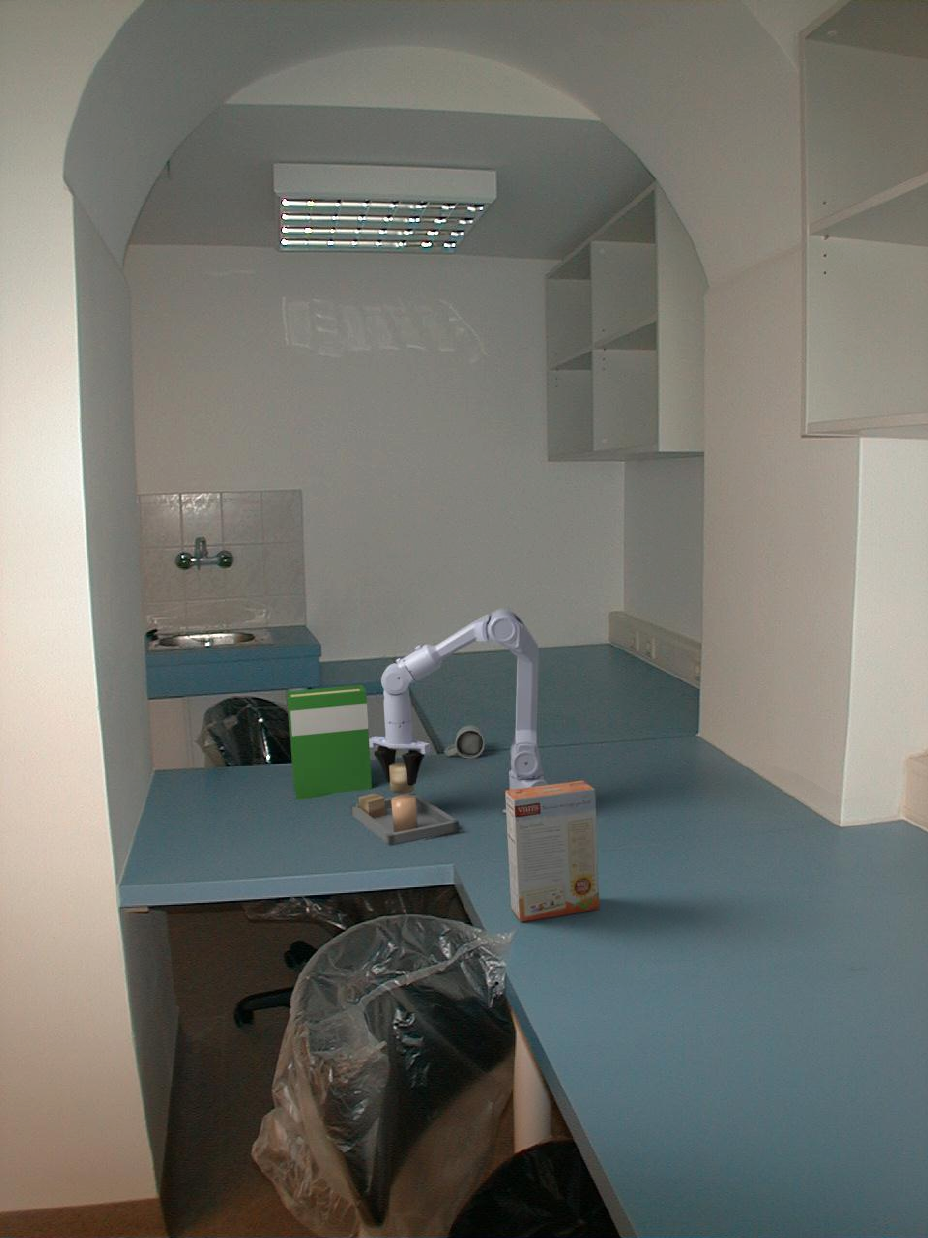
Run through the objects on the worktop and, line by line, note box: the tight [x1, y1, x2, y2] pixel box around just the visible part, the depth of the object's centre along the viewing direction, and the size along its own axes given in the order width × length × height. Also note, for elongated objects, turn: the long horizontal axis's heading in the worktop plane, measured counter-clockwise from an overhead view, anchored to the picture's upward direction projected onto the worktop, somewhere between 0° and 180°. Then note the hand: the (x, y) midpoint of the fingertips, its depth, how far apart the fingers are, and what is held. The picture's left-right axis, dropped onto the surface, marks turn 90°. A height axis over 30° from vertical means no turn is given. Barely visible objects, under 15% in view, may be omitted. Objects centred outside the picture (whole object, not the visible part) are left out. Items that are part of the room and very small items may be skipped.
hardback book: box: [286, 684, 373, 801], centre depth 238 cm, size 18×7×24 cm, turn 104°
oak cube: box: [358, 793, 385, 819], centre depth 219 cm, size 4×4×4 cm
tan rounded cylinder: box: [391, 794, 418, 832], centre depth 209 cm, size 5×5×6 cm
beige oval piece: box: [389, 761, 415, 795], centre depth 217 cm, size 5×5×6 cm
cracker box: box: [504, 780, 600, 923], centre depth 168 cm, size 14×6×21 cm, turn 104°
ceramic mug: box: [443, 725, 486, 760], centre depth 265 cm, size 11×8×8 cm
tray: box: [349, 792, 460, 846], centre depth 214 cm, size 22×15×2 cm
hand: (401, 782), depth 217 cm, fingers closed on beige oval piece, 5 cm apart
